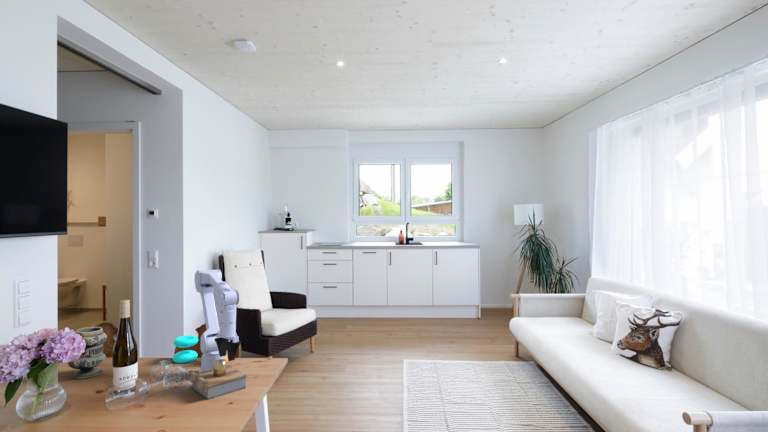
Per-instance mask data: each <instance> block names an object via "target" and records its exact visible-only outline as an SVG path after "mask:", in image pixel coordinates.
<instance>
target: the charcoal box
mask: <svg viewBox="0 0 768 432" xmlns="http://www.w3.org/2000/svg"><path fill="white" fill-rule="evenodd" d="M246 378H247V377H244V378H241V379H237V380H234V381H230V382H227V383H223V384H220V385H216V386H213V387H209V388H208V391H207V392H203V391H202V390H200V389H199V388H198V387H197V386H195V385H194V384H193V383H191V385H192V386H191V388H192V389H193V390H194V391H196V392H197V393H198V394H199V395H201V396H202V397H204V399H207V400H212V399H215V398H217V397H221V396H225V395H228V394H230V393H233V392H236V391H241V390H244V389H246V381H247V379H246Z"/></svg>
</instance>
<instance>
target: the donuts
mask: <svg viewBox="0 0 768 432" xmlns="http://www.w3.org/2000/svg"><path fill="white" fill-rule="evenodd" d="M198 342H199V338H198V337H197V336H196V335H192V334H191V335H182V336H178V337H176V338H174V340H173V345H174V346H175V347H177V348H180V349H182V348H183V349H184V348H190V347H194V346H196V344H198ZM198 355H199V354H198V352H197V351H195V350H192V349H186V350H185V349H184V350H180V351H178V352H176V353H174V355H173V356H172V360H173V362H175V363H177V364H186V363H191V362H193V361H196V359H198Z"/></svg>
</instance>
